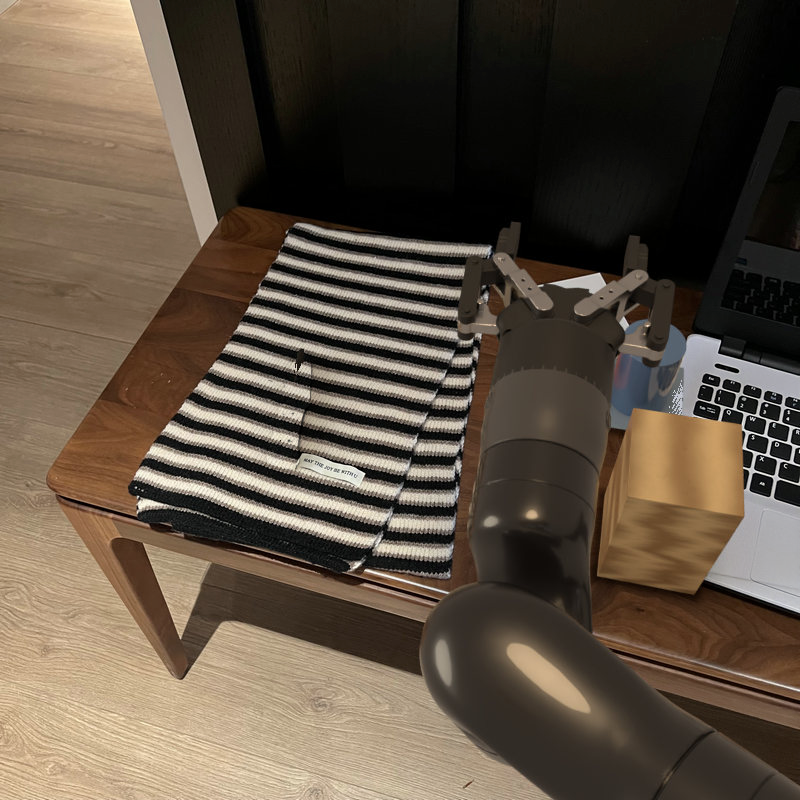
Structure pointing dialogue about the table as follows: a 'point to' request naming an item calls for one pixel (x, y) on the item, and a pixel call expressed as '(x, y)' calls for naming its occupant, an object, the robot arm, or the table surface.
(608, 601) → the table surface
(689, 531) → the stand
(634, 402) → the upturned slate cup
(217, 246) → the table surface
